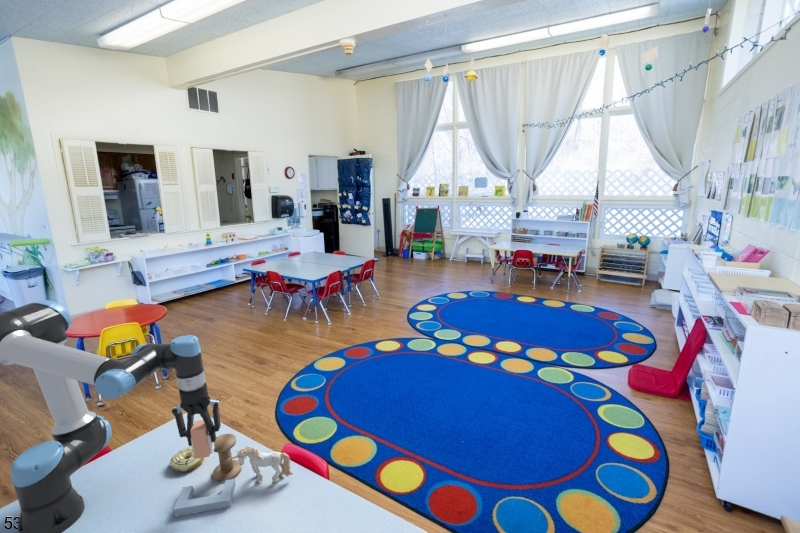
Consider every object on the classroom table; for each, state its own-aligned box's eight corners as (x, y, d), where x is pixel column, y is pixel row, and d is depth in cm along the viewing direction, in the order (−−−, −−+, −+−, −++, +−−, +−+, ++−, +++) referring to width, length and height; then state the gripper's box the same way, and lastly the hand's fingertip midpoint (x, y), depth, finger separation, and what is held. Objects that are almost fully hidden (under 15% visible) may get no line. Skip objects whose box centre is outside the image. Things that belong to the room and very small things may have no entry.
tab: (195, 459, 122) (190, 430, 120) (199, 448, 127) (194, 421, 125) (209, 456, 123) (204, 428, 121) (213, 446, 128) (208, 419, 125)
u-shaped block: (174, 516, 120) (173, 509, 119) (183, 493, 128) (182, 487, 128) (230, 506, 123) (229, 500, 122) (235, 485, 131) (234, 478, 131)
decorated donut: (185, 478, 135) (183, 468, 134) (164, 469, 140) (163, 460, 139) (210, 458, 144) (209, 449, 144) (190, 450, 149) (189, 441, 148)
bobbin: (210, 483, 132) (205, 452, 129) (216, 465, 141) (212, 434, 138) (238, 479, 134) (234, 447, 131) (243, 461, 142) (239, 431, 140)
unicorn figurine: (234, 479, 134) (229, 445, 131) (292, 465, 140) (289, 433, 137) (232, 494, 127) (227, 459, 124) (293, 480, 133) (290, 446, 130)
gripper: (157, 396, 114) (171, 465, 120) (219, 387, 118) (230, 454, 123) (166, 383, 121) (179, 449, 127) (224, 375, 125) (235, 439, 130)
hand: (204, 451), depth 125 cm, fingers closed on tab, 4 cm apart
